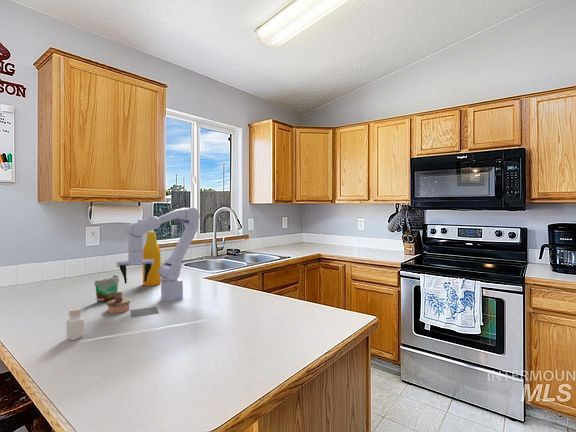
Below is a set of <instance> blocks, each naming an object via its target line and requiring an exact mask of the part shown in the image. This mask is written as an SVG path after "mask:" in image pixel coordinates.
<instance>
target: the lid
mask: <svg viewBox="0 0 576 432" xmlns="http://www.w3.org/2000/svg"><path fill="white" fill-rule="evenodd" d="M127 304H129V305H130V304H131V299H130V298H123V291H117V292H116V293H115V300H111V301H108V302H106V306H107V307H108V306H110V307H117V306H123V305H127Z"/></svg>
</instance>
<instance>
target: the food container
mask: <svg viewBox="0 0 576 432" xmlns="http://www.w3.org/2000/svg"><path fill="white" fill-rule="evenodd" d="M119 283H120V278H119V275H112V277H110V278H105V279H104V278H103V279H102V280H94V284H93V285H94V287H95V295H96V302H97V303H107V302H108V301H111V300H115V293H116V292H118V288H119V287H118V285H119Z"/></svg>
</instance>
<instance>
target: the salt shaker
mask: <svg viewBox="0 0 576 432" xmlns="http://www.w3.org/2000/svg"><path fill="white" fill-rule="evenodd" d="M68 311H69V312H68V315H69V318H68V319H67V320H66V339H68V340H70V341H77V340H79V339H81V338H83V337H84V336H85V319H84V317H82V316H81V315H82V309H81V308H80V307H74V308H70V309H68Z"/></svg>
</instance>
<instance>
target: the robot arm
mask: <svg viewBox="0 0 576 432" xmlns="http://www.w3.org/2000/svg"><path fill="white" fill-rule="evenodd" d="M200 218H201V215H200V213H199V210H198V209H197V208H196V207H181V208H176V209H174V210H172V211H169V212H166V213H165V214H162V215H160V216H155V215H153V216H152V215H148V216H147V218H144V219H142V220H141V219H139V220H137V222H131V223H130V224H128V225H127V227H126V229H125V231H126V234H127V236H128V241H127V244H128V245H127V246H128V247H127V249H128V259H127V260H121V261H116V268H119V270H120V272H121V274H122V277H123V279H124V284H127V283H128V281H127V280H128V279H127V267H130V266H131V267H132V266H143V265H144V266H145V275H144V281H145V282H146V281H147V276H148V273H149V271H150V269H151V266H152V265H153V264H154V260H143V249H144V235H145V234H147V232H151V231H155V229H158V228H160V226H161V224H164V223H168V222H170V221H173V220H176V219H179V221H181V222H182V224H183V226H184V228H185V229H184V230H183V233H182V234H181V236H180V238H179V240H178V242H177V243H176V246H175V247H174V250H173V252H171V255H170V257H169V258H168V259H166V260H165V261H164V263H163V264H162V265H161V267H160V268H159V275H160V276H161V283H160V296H159V300H160V301H161V302H168V301H174V300H182V299H184V289H183V287H184V284H183V279H182V278H179V277H180V275H181V270H182V260H183V259H184V257H185V255H186V253H187V251H188V250H189V247H190V246H191V243H192V242H193V239H194V238H195V237H196V234H197V232H198V230H199V220H200Z"/></svg>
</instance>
